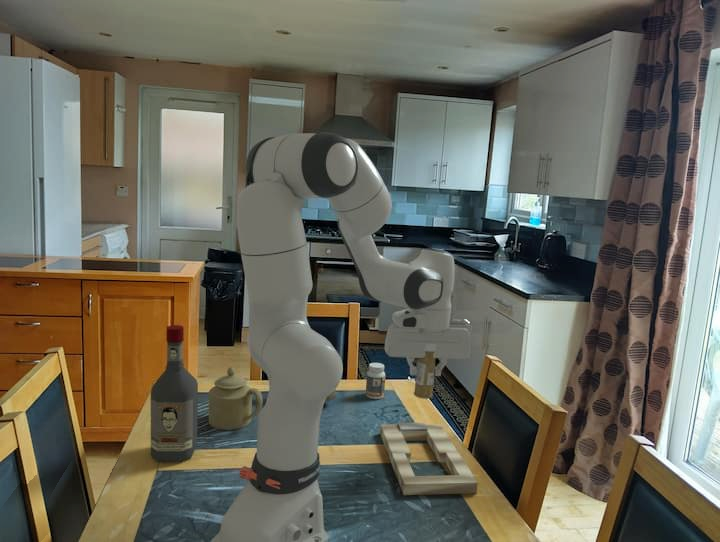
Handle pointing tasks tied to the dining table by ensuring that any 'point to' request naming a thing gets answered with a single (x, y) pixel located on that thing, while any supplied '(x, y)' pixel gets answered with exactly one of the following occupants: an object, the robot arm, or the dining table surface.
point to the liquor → (174, 405)
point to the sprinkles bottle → (425, 373)
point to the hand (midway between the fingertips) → (425, 375)
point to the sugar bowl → (232, 402)
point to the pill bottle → (375, 381)
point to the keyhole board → (443, 451)
